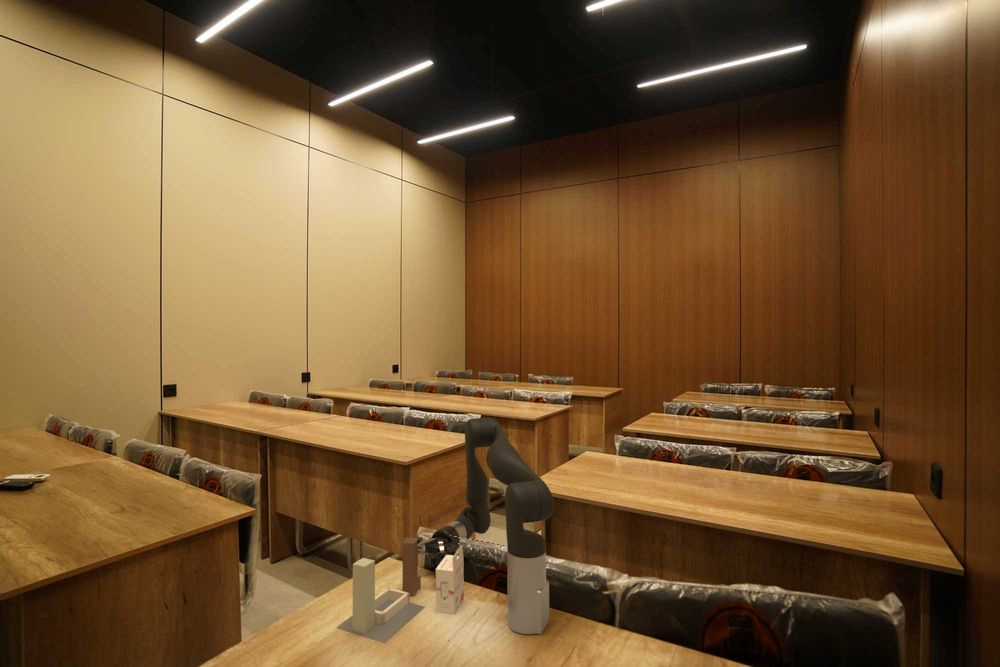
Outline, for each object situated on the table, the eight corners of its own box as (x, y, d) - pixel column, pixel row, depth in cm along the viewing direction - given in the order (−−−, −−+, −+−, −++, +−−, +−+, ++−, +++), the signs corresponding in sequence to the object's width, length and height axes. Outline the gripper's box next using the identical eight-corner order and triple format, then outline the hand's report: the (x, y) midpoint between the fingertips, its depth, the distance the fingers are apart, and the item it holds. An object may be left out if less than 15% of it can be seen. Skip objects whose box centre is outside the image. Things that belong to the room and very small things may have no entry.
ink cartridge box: (445, 599, 125) (445, 542, 125) (464, 601, 124) (464, 543, 124) (435, 617, 116) (434, 556, 117) (454, 619, 115) (454, 558, 116)
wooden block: (414, 601, 124) (414, 542, 124) (402, 600, 124) (402, 542, 124) (420, 588, 130) (420, 533, 131) (409, 588, 130) (409, 532, 131)
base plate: (425, 611, 119) (425, 596, 119) (384, 648, 104) (384, 631, 104) (380, 599, 125) (380, 585, 125) (335, 633, 110) (335, 616, 110)
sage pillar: (374, 625, 111) (374, 560, 111) (364, 634, 107) (364, 566, 108) (362, 622, 112) (363, 557, 113) (352, 630, 109) (352, 563, 109)
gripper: (429, 521, 148) (397, 540, 133) (470, 528, 142) (441, 549, 127) (429, 546, 148) (397, 568, 133) (470, 554, 142) (441, 578, 127)
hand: (419, 559), depth 130 cm, fingers open, 8 cm apart
